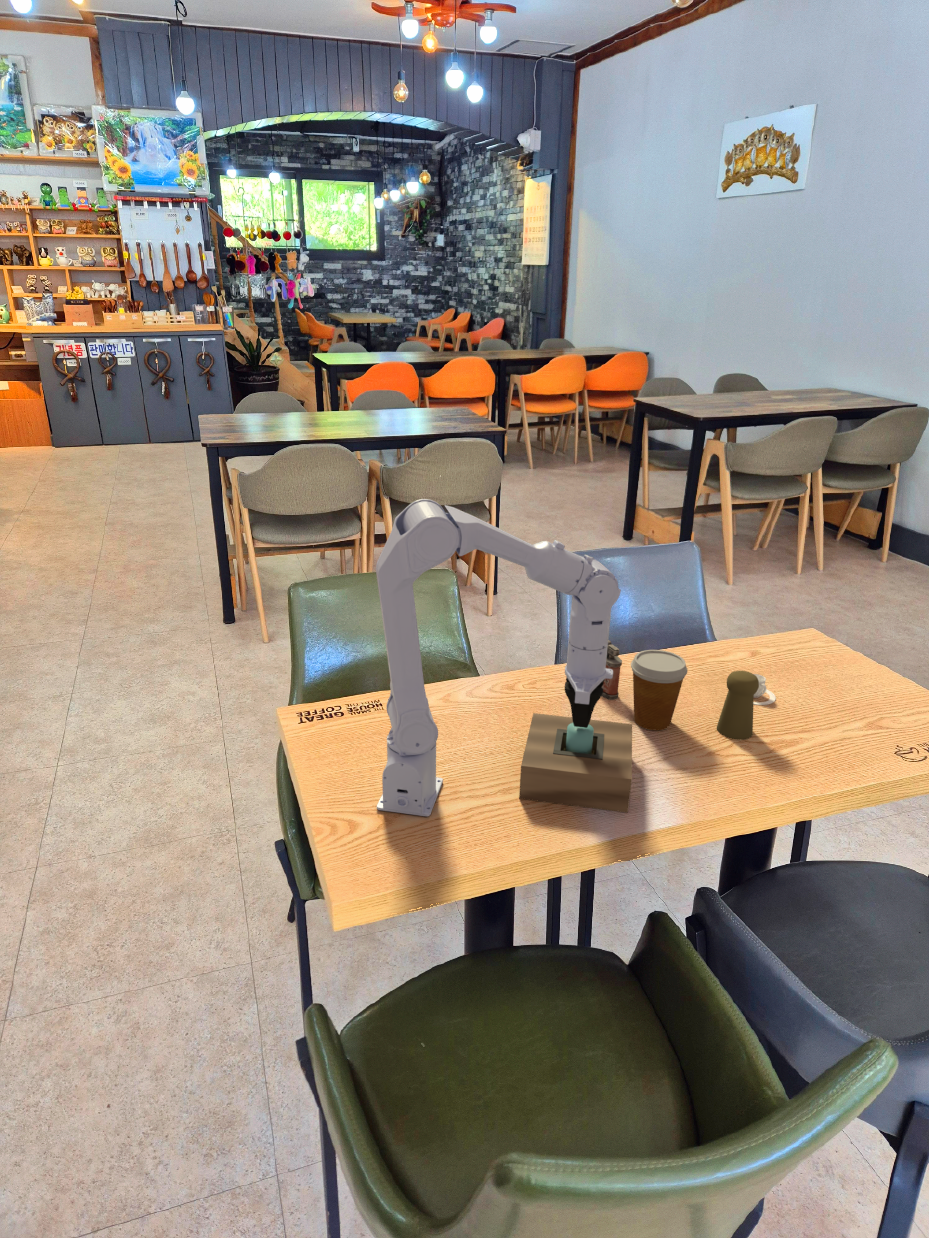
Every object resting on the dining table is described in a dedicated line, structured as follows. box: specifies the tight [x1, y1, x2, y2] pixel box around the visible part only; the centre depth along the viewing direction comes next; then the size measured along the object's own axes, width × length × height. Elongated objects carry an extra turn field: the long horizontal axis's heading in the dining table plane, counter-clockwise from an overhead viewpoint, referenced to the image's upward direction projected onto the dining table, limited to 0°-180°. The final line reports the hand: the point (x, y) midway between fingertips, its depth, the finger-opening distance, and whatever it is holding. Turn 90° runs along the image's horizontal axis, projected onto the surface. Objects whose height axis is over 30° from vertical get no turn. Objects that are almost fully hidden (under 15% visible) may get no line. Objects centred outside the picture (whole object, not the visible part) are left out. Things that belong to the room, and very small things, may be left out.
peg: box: [566, 723, 594, 754], centre depth 127 cm, size 4×4×5 cm
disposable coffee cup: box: [630, 649, 689, 731], centre depth 143 cm, size 10×10×12 cm
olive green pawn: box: [716, 670, 759, 741], centre depth 141 cm, size 6×6×11 cm
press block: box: [518, 712, 633, 814], centre depth 128 cm, size 16×16×6 cm
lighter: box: [601, 639, 623, 701], centre depth 154 cm, size 8×3×10 cm, turn 25°
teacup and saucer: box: [753, 673, 777, 706], centre depth 155 cm, size 9×8×4 cm
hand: (580, 723), depth 125 cm, fingers closed
